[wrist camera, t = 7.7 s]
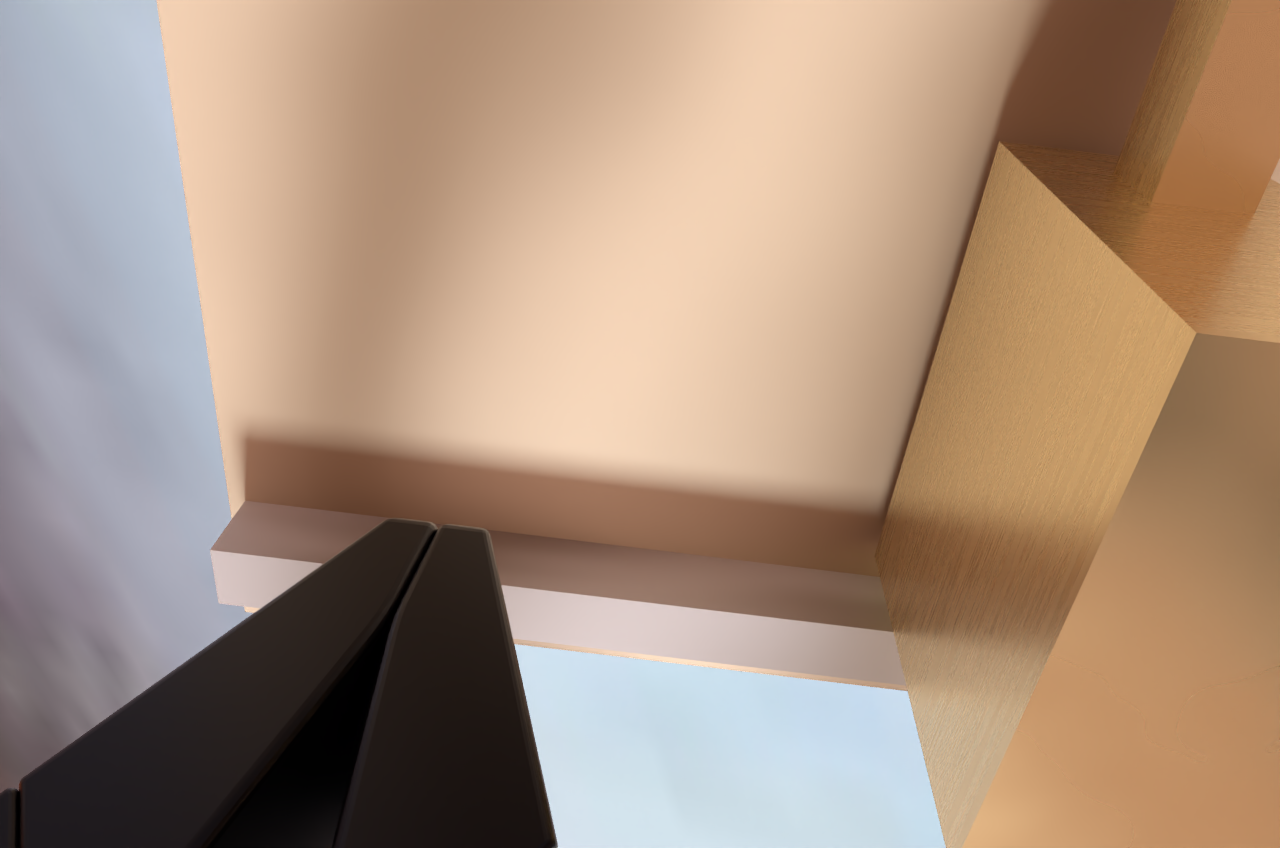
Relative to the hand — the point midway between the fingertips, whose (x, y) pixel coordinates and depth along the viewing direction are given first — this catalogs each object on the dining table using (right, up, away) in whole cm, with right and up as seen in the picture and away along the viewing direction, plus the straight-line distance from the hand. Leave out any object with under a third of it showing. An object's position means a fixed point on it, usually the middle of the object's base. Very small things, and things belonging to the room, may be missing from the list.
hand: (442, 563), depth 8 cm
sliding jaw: (+7, +3, +3) cm, 9 cm away
